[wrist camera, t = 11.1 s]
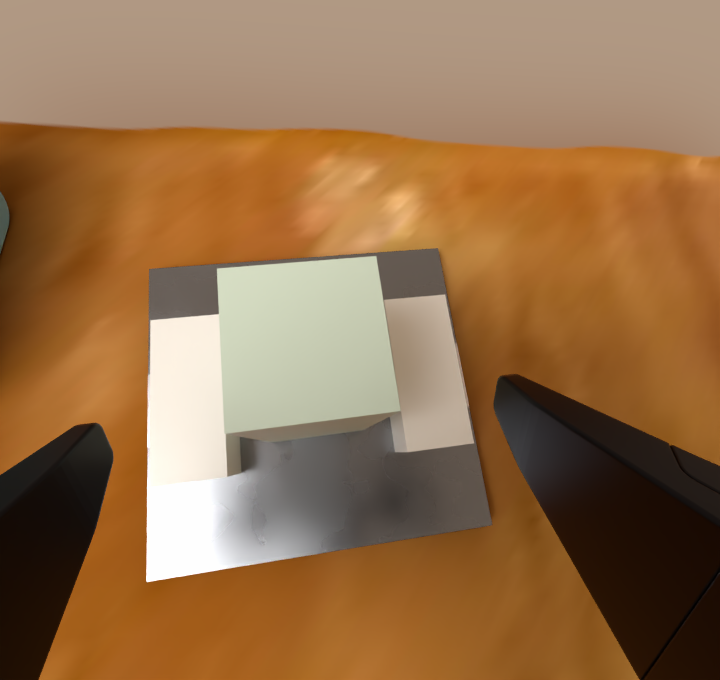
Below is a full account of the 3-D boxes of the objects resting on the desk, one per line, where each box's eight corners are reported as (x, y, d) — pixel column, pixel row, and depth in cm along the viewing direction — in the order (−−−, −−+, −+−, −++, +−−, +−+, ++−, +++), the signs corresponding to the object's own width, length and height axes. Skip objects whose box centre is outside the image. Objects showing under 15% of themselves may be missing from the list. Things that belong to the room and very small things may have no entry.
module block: (362, 430, 20) (400, 410, 10) (271, 442, 20) (224, 433, 10) (351, 344, 21) (376, 255, 12) (265, 353, 21) (216, 268, 11)
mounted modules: (429, 314, 22) (445, 294, 19) (452, 444, 20) (474, 443, 17) (174, 338, 20) (150, 320, 18) (175, 482, 19) (149, 487, 16)
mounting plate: (434, 254, 24) (438, 247, 23) (485, 522, 20) (492, 525, 19) (155, 275, 22) (148, 268, 21) (154, 576, 18) (146, 582, 17)
